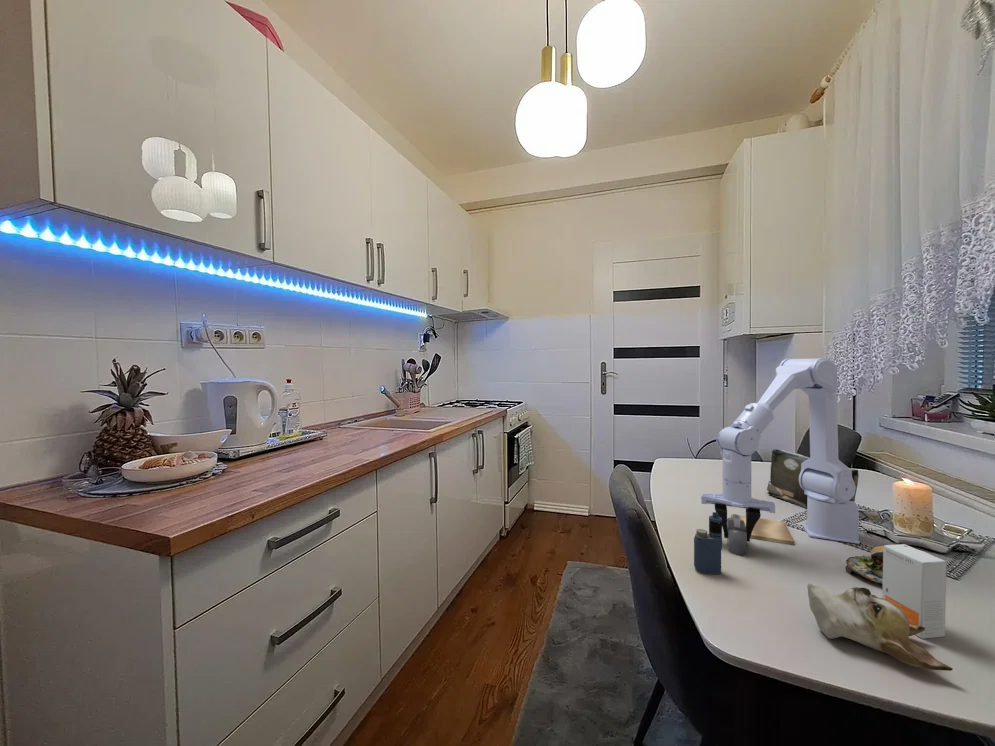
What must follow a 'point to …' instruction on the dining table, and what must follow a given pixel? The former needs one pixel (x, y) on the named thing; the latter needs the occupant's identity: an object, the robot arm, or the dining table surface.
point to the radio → (791, 477)
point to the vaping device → (709, 547)
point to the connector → (737, 536)
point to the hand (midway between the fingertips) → (736, 538)
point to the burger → (868, 565)
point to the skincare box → (916, 587)
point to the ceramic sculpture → (869, 624)
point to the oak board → (770, 531)
